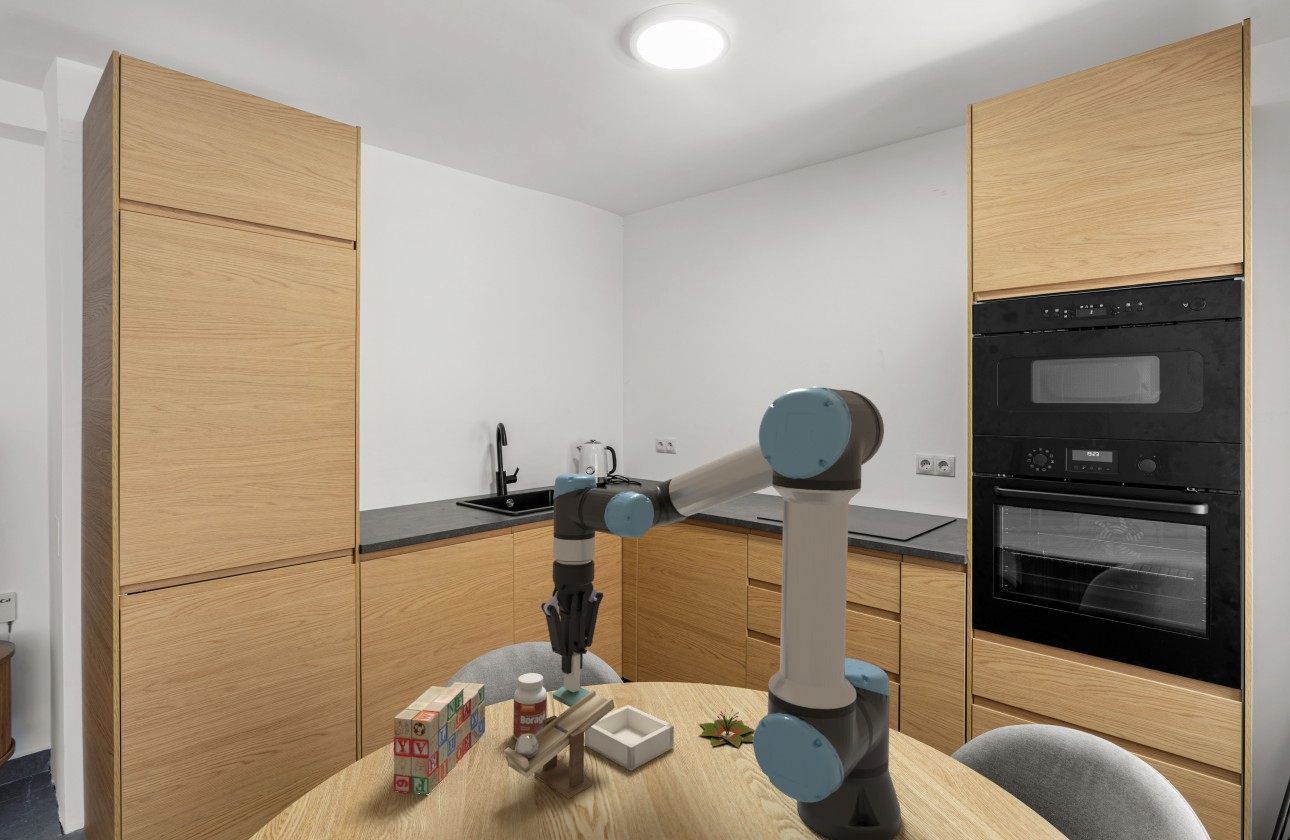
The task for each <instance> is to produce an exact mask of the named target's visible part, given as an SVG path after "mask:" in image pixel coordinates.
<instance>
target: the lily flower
mask: <svg viewBox="0 0 1290 840" xmlns="http://www.w3.org/2000/svg"><path fill="white" fill-rule="evenodd" d="M733 710H734V709H733V708H732V709H731V713H730V714H729V718H727V714H724V713H723V712H722V711H720V713H719V715H720V716H721V717H722V719H721V718H720V716H719V715H717V718H718V719H715V720H714V721H713V722H714V723H713V722H705V723H699V725H700V726H701V727H702V728H703V729H704V730H703V731H702V732H701V734H699V735H698V737H702V736H703V737H704V736H706V737H707V736H709V737H710V736H711V738H710V741H711V747H716V746H720V745H722V744H726V743H729V742H730V743H731V744H732V745H734V746H735V747H736V748H737V749H740V745H741V742H752V743H753V736H754V735H752V734H749V733H750V732H755V729H754V728H752V727H750V726H747V725H745V724H744V722H743V721H742V719H740V720H738V719H735V718H738V717H739V715H738V714H739V713H740V712H739V711H738V712H736V713H735V714H734V715H732V716H731V714H732V712H733ZM725 713H727V710H726V709H725ZM734 719H735V720H734ZM730 732H731V733H732V736H726V735H729V734H730ZM723 733H725V735H723ZM721 737H722V738H723V740H722V739H720V738H721Z"/></svg>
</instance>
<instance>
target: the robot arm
mask: <svg viewBox="0 0 1290 840" xmlns="http://www.w3.org/2000/svg"><path fill="white" fill-rule="evenodd" d="M884 435H885V424H884V420H883V417H882V414H881V412H880V410H879V409H878V407H877V406H876V405H875V404H874V403H873V402H872V401H871V399H869V398H868V397H867V396H865V395H863V394H861V393H859V392H857V391H854V390H849V389H848V390H847V389H835V388H828V387H824V386H821V387H819V386H810V387H802V388H795V389H791V390H789V391H786V392H785V393H783V394H781V395H779V396H778V397H777V398H776V399H775V400H773V402H772V403H770V404H769V406H768V408H767V409H766V410H765V412H764V414H763V415H762V419H761V421H760V424H759V429H758V441H757V442H755V443H752V444H750V445H748V446H746V447H743V448H741V449H738V450H736V451H734V452H731V453H729V454H727V455H724V456H721V457H720V458H716V459H715V460H712V461H710V462H708V463H706V464H704V465H703V464H702V465H701V466H698V467H696V468H693V469H691V470H688V471H687V472H684V473H682V474H679V475H677V476H674V477H673V478H669V479H667V480H665V481H662V482H659V483H658V484H654V485H649V486H641V487H632V488H626V489H605V488H601V487H597V486H598V485H597V480H596V477H595V476H594V475H593V474H590V473H589V474H587V473H564V474H560V475H558V476H557V477H556V478H555V480H554V490H553V491H554V492H553V496H552V500H553V538H552V539H553V540H552V541H553V542H552V545H553V547H552V558H554V560H553V562H552V581H553V583H554V588H553V590H552V594H551V596H552V597H551V599H550V600H549V601H547V602H543V603H542V604H541V606H540V608H541V610H542V611H543V613H544V614H545V615H544V616H545V619H546V625H547V629H548V634H549V640H550V646H551V651H552V653H555V654H556V655H559V656H561V668H560V669H561V672H562V673H563V686H564V688H565V689H567V690H569V691H571V692H576V691H578V690H580V687H581V684H580V683H581V670H582V669H583V662H584V661H583V658H584V655H586V654H587V652H588V649H586V648H587V647H588V648H590V647H591V646H592V645H593V639H594V635H595V630H596V624H597V619H598V614H599V610H600V609H599V608H600V605H601V602H602V600H603V598H604V594H603V592H599V591H597V590H595V589H594V585H593V581H594V580H595V568H596V567H595V563H596V562H595V561H594V560H593V559H594V558H595V556H596V545H595V544H596V532H599V533H604V534H608V535H611V536H612V535H614V536H616V537H620V538H624V539H625V538H632V539H633V538H634V539H637V538H640V537H641V538H642V537H643V536H644V535H645V534H646V533H647V532H648V531H649V530H650V529H652V528H655V527H656V528H657V527H661V526H667V525H674V524H677V523H679V522H682V521H684V520H685V519H687V518H688V517H690V516H692V515H696V514H698V513H701V512H705V511H707V510H710V509H711V508H714V507H718V506H720V505H723V504H726V503H728V502H732V501H734V500H738V499H740V498H743V497H746V496H749V495H750V494H754V493H755V492H759V491H762V490H764V489H767V488H771V487H773V488H774V490H775V491H777V493H779V495H780V496H781V498H782V503H783V504H782V505H783V507H782V511H783V512H782V552H781V553H782V555H781V558H782V560H781V595H780V596H781V600H780V602H781V605H780V609H781V610H780V641H779V642H780V643H779V645H780V647H779V648H780V651H779V662H780V663H779V670H778V671H777V672H775V674H772V676H771V677H770V678H769V679H768V680H769V681H768V683H767V684H768V685H767V686H768V691H767V692H768V693H767V714H766V715H765V716H764V717H762V718H761V719H760V720H759V721H758V724H757V725H756V728H755V729H754V730H755V731H753V732H754V733H753V735H752V736H753V742H752V746H753V753H754V756H755V759H756V762H757V764H758V767H759V768H760V770H761V771H762V773H763V774H764V775H766V777H767V778H768V780H769V782H770V784H771V785H772V786H774V787H775V788H776V789H777V790H778V791H779V792H780V793H782V794H783V795H786V796H787V797H789V798H791V799H793V800H796V809H797V813H798V814H799V816H800V818H801V819H802V820H803V823H805V824H806V825H807V826H808V827H809V828H811V829H812V830H814V831H815V832H816V833H818V834H820V835H822V836H824V837H826V838H828V839H830V840H892V839H894V838H895V837H896V836H897V835H898V834H899V832H900V830H901V826H902V825H901V822H902V821H901V820H902V819H901V812H902V811H901V806H900V802H899V798H898V795H897V793H896V792H897V791H896V789H895V786H894V782H893V780H892V777H891V773H890V770H889V767H890V766H889V764H890V761H889V760H890V758H889V756H890V710H891V709H890V707H891V706H890V705H891V704H890V702H891V699H890V697H891V696H892V693H891V692H890V678H889V676H888V674H887V673H886V672H885V671H884V670H883V668H881V667H878V666H877V665H875V664H872V663H869V662H866V661H862V660H859V659H855V658H854V659H853V658H850V657H849V658H848V657H846V646H847V645H846V643H847V642H846V638H847V637H846V636H847V635H846V634H847V593H848V592H847V591H848V589H847V588H848V587H847V586H848V548H849V546H848V543H849V537H848V536H849V504H850V501H851V500H852V499H853V498H854V497H855V496H856V495H857V494H858V493H860V492H861V489H862V465H864V464H865V465H866V463H867V462H869V461H870V460H872V459H873V457H874V456H875V455H876V454H877V453H878V452H879V450H880V448H881V446H882V444H883V440H884Z"/></svg>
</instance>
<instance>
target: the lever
mask: <svg viewBox="0 0 1290 840" xmlns="http://www.w3.org/2000/svg"><path fill="white" fill-rule="evenodd" d="M551 696H552V698H553V700H555V701H557V702H559V703H561V704H562V705H565V706H568V707H569V708H567V709H566V710H564V711H563V712H562V713H561V714H559V715H558V716H557V718H555V719H554V720H553V721H551V722H550V723H549V724H547V725H546V726H545V727H544V728H542V729H541V730H540V731H538V732H537V733H536V734H534V736H535V737H536V738H537V740H538V743H539V747H538V751H537V753H536V754H535V755H534V756H533V757H532V758H529V759H526V758H525V757H523V756H522V755H520V754H518V753H517V752H516V748H515V749H511V748H510V747H509V746H508V747H507V748H505V749H504V750H503V751H504V754H505V759H506V762H507V763H506V764H507V766H508V767H510V769H513V770H514V771H516V772H517V773H519V774H520V775H522V776H523V777H525V778H526V779H528V778H530V777H531V776H533V775H534V773H535V772H536V771H537V770H539V769H540V768H542V767H543V765H545V764H546V763H547V762H548V761H550V760H551V759H552V758H553V757H555V756H556V755H557V756H558V754H559V753H561V752H562V751H563V750H565V749H566V748H567V747H569V738H570V734H572V733H574V732H576V731H578V730H583V731H584V733H585V731H587V730H588V729H589V728H590V727H591V726H593V725H594V724H595V723H596V722H598V721H599V720H600V719H601V718H603V717H604V716H605V715H606V714H608V713H610V712H612V711H613V710H615V703H614V699H613V698H612V697H609V699H608V698H604V697H602V696H600V695H598V694H597V692H596V690H594V689H593V690H591V691H589V690H588V689H585V688H584V687H581V686H580V690H578V691H576V692H571V691H569V690H567V689H565V688H564V685H562V686H561V687H559V688H558V689H557V690H555V691H554V692H553V693H552V695H551Z"/></svg>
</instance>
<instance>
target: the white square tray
mask: <svg viewBox="0 0 1290 840" xmlns="http://www.w3.org/2000/svg"><path fill="white" fill-rule="evenodd" d="M674 729H675V726H674V725H673V724H671V723H669V722H667V721H665V720H662V719H660V718H658V717H656V716H653V715H651V714H650V713H646V712H644V711H642V710H641V709H639V708H636V707H633V706H631V705H629V704H627V705H624V706H622V707H619V708H618V709H614V710H612V711H610V712H609V713H607V714H606V715H605V716H604V717H603V718H601V719H600V720H599V721H598V722H596V723H595V724H594V725H593V726H591V727H590V728H589V729H588V730H587V731H585V732H584V747H586V748H589V749H591V750H592V751H594V752H596V753H598V754H599V755H601V756H603V757H605V758H607V759H609V760H611V761H612V762H614V763H616V764H618V765H619V766H621V767H623V768H625V769H627V770H629V771H630V772H632V771H633V770H635V769H637V768H639V767H640V766H642V765H644V764H646V763H649V762H650V761H652V760H653V759H655V758H657V757H659V756H660V755H663V754H664V753H666V752H667V751H670V750H671V749H673V748H674V744H675V743H674V737H675V736H674V735H675V734H674V733H675V731H674Z"/></svg>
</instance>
